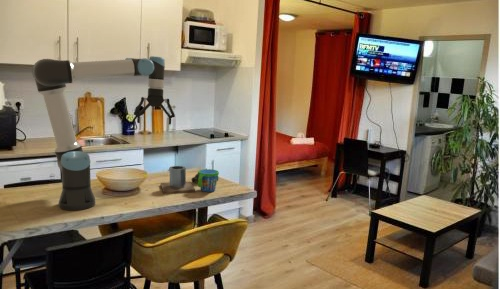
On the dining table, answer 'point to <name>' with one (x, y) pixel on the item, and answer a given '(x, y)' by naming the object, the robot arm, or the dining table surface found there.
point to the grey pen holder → (177, 177)
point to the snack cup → (207, 179)
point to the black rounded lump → (196, 177)
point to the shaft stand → (168, 189)
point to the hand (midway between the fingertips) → (153, 130)
